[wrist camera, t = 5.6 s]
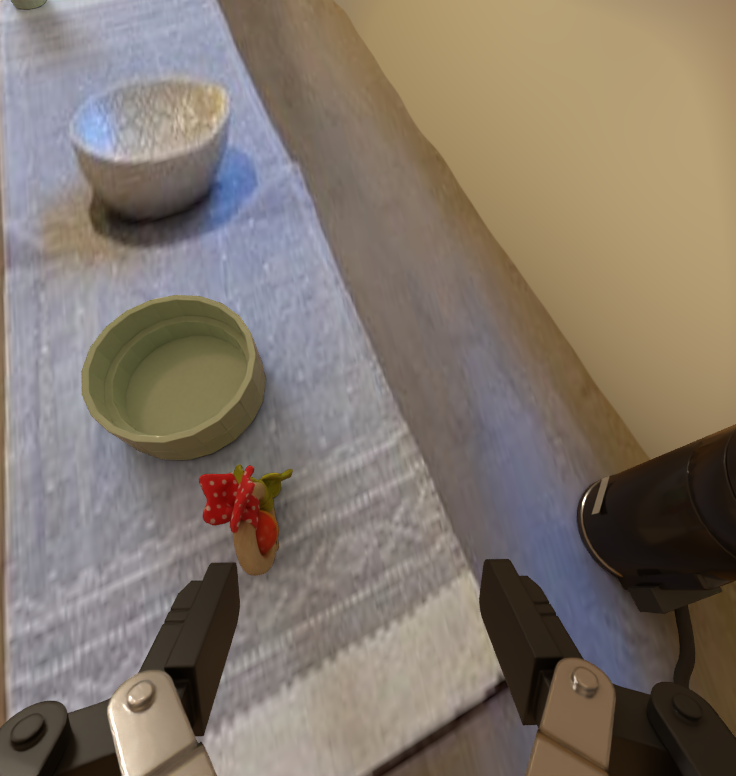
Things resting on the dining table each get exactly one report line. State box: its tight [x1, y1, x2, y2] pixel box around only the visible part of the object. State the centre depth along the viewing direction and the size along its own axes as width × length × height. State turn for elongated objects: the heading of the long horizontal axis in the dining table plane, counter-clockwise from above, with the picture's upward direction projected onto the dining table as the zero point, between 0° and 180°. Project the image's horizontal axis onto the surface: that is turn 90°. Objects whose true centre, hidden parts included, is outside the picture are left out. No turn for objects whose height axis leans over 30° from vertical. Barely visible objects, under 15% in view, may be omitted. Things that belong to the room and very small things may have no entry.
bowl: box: [82, 295, 266, 460], centre depth 41 cm, size 15×15×6 cm
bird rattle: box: [199, 464, 293, 576], centre depth 34 cm, size 6×11×9 cm
